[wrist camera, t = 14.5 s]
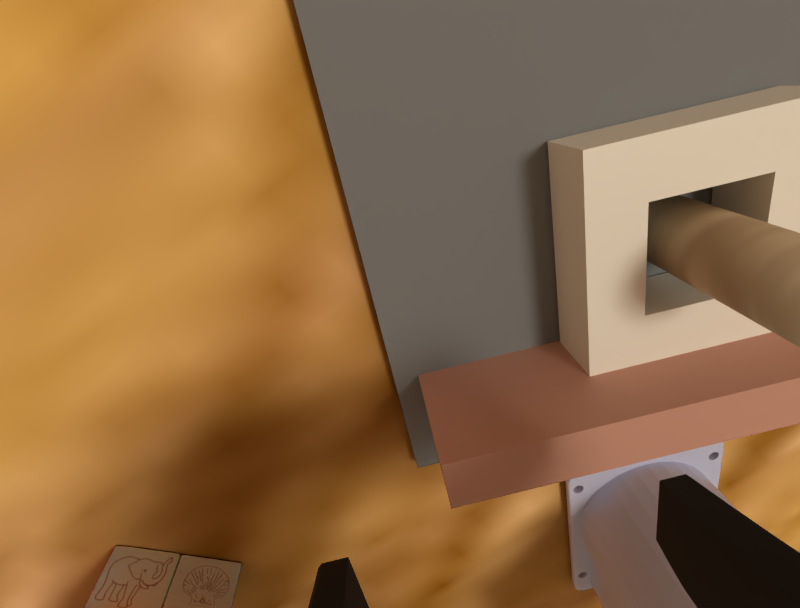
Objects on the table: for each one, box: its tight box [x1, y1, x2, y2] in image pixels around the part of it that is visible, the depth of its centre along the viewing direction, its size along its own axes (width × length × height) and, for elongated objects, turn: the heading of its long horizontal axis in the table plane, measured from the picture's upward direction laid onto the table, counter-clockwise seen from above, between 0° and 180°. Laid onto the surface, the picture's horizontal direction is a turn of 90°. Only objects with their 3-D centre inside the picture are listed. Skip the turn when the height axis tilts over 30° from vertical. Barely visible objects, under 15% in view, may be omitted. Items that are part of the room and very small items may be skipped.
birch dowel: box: [647, 195, 800, 347], centre depth 14 cm, size 2×2×7 cm
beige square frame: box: [547, 86, 800, 376], centre depth 16 cm, size 8×8×2 cm
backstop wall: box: [418, 332, 800, 509], centre depth 17 cm, size 2×20×5 cm, turn 102°
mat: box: [293, 0, 800, 468], centre depth 16 cm, size 24×22×1 cm
